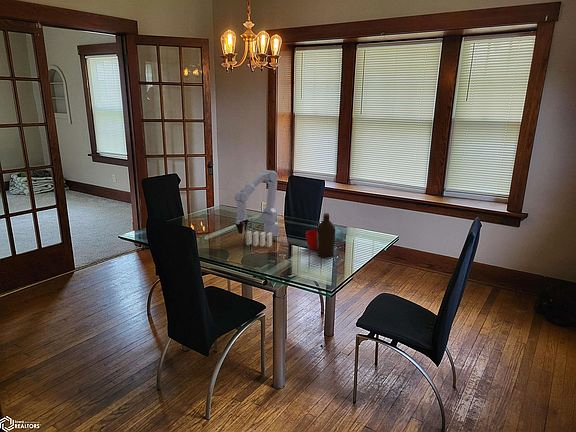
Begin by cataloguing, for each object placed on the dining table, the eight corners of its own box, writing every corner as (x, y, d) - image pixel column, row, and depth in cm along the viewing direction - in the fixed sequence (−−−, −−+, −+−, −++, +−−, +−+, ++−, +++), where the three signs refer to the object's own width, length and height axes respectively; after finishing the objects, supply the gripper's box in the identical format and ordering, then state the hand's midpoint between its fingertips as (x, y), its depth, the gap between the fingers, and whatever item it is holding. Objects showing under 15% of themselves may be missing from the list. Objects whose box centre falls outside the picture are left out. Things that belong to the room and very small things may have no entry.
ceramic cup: (321, 242, 258) (321, 227, 256) (329, 251, 242) (330, 235, 240) (301, 244, 256) (302, 229, 253) (308, 253, 240) (309, 237, 237)
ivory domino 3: (265, 244, 256) (265, 232, 254) (262, 246, 251) (262, 234, 249) (262, 243, 256) (262, 231, 254) (260, 246, 252) (259, 234, 249)
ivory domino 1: (251, 242, 258) (251, 230, 256) (248, 245, 254) (248, 233, 252) (249, 242, 259) (249, 230, 257) (246, 245, 254) (246, 232, 252)
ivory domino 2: (258, 243, 257) (258, 231, 255) (255, 246, 252) (255, 233, 250) (256, 243, 257) (255, 231, 255) (253, 245, 253) (253, 233, 251)
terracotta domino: (245, 234, 258) (244, 222, 256) (241, 236, 254) (241, 224, 251) (242, 234, 259) (242, 221, 257) (239, 236, 254) (239, 223, 252)
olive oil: (335, 253, 239) (337, 212, 233) (333, 259, 230) (334, 216, 223) (318, 251, 242) (319, 210, 236) (314, 257, 232) (315, 215, 226)
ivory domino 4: (272, 244, 254) (271, 232, 252) (269, 247, 250) (269, 234, 248) (269, 244, 255) (269, 232, 253) (266, 247, 250) (266, 234, 248)
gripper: (240, 208, 260) (241, 228, 263) (230, 213, 246) (231, 234, 250) (250, 208, 258) (251, 229, 261) (241, 214, 244) (242, 235, 248)
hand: (242, 232), depth 256 cm, fingers closed on terracotta domino, 5 cm apart
